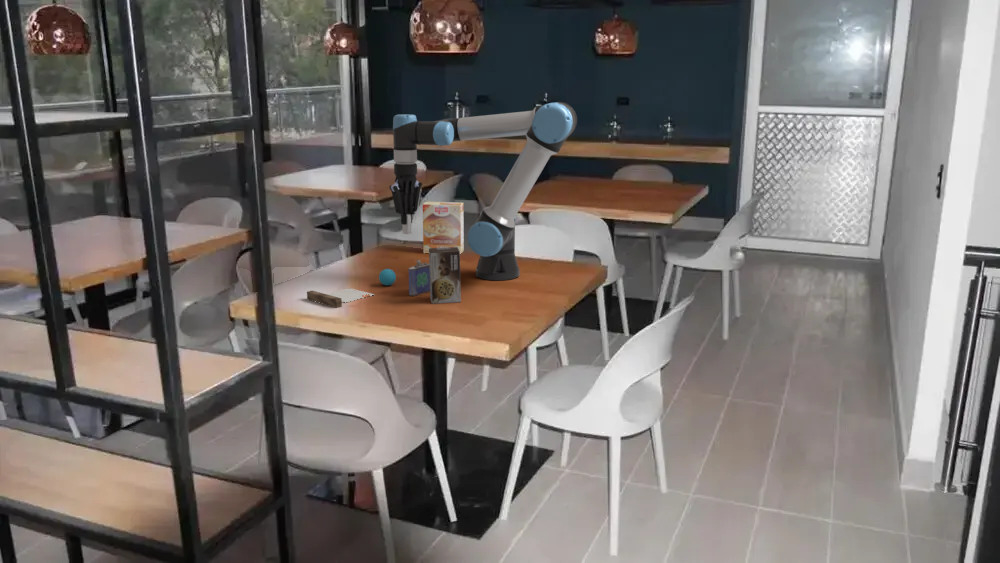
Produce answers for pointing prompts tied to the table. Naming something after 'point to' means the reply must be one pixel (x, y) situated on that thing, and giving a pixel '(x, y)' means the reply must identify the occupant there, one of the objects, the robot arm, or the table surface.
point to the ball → (387, 277)
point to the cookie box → (444, 275)
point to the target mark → (349, 294)
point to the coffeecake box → (443, 225)
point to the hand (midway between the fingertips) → (407, 233)
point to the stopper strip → (324, 298)
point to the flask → (419, 279)
